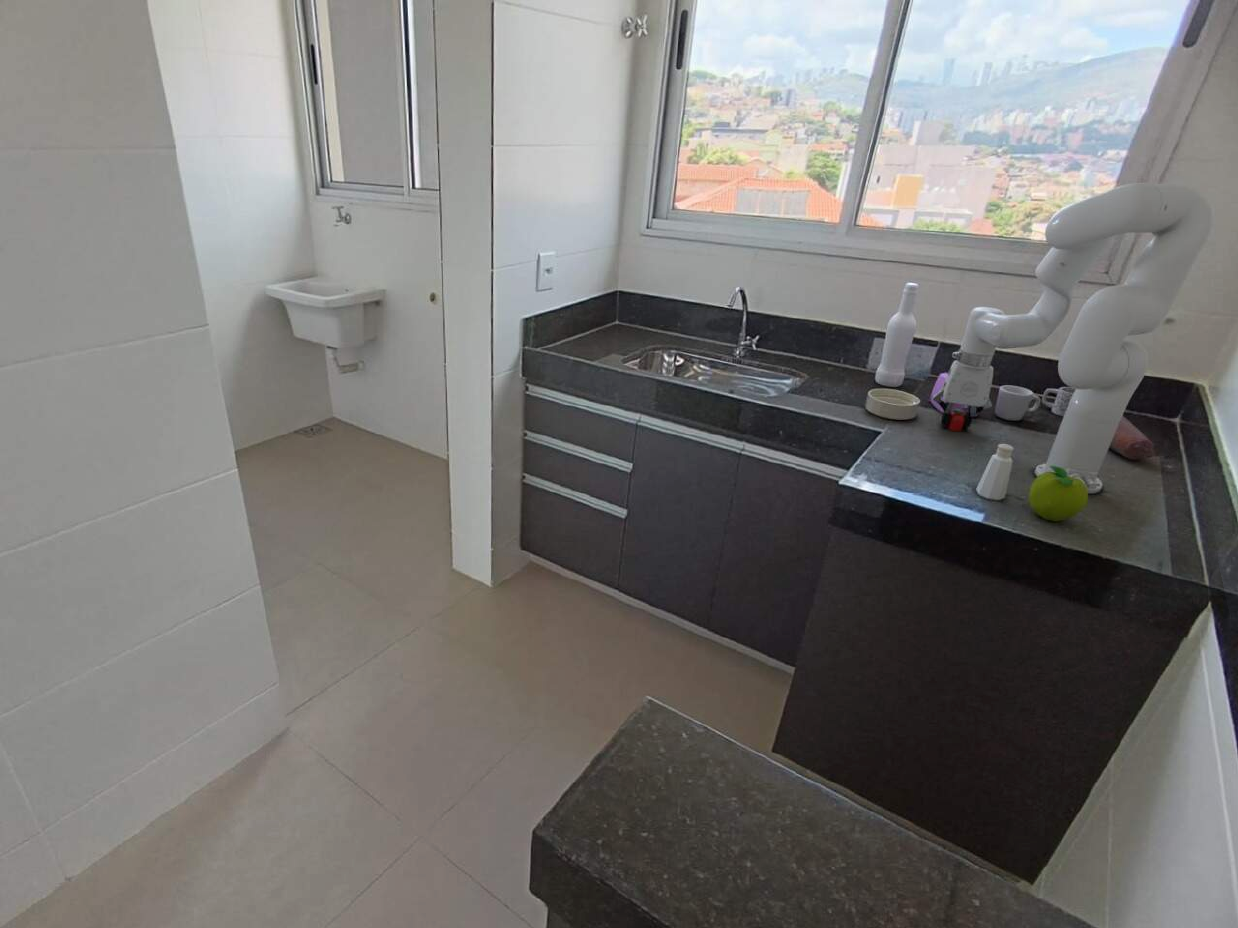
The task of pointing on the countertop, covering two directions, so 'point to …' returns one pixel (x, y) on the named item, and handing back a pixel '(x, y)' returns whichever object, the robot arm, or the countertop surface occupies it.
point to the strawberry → (957, 420)
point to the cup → (1014, 402)
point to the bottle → (898, 341)
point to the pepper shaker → (996, 474)
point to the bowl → (892, 404)
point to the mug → (1059, 399)
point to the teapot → (937, 388)
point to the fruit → (1057, 495)
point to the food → (1131, 442)
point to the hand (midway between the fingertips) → (954, 427)
